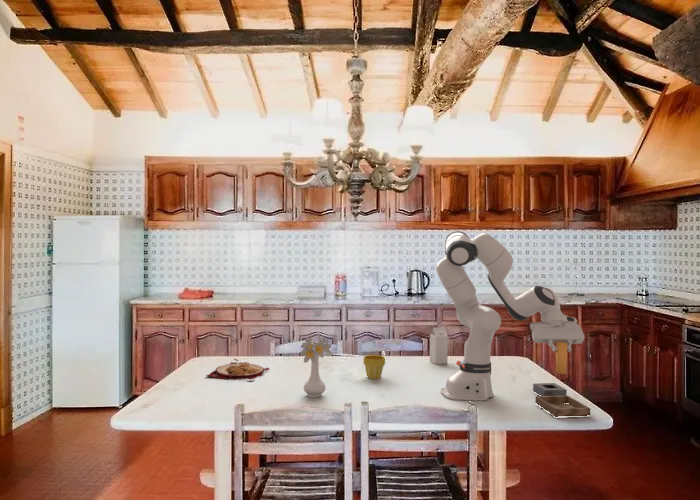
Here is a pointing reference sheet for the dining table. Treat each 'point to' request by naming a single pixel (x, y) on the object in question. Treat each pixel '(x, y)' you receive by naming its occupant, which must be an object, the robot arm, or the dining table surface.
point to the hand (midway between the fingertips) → (562, 351)
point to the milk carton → (439, 346)
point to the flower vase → (314, 365)
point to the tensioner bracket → (549, 389)
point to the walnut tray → (562, 406)
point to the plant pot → (374, 366)
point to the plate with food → (238, 371)
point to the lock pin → (561, 358)
